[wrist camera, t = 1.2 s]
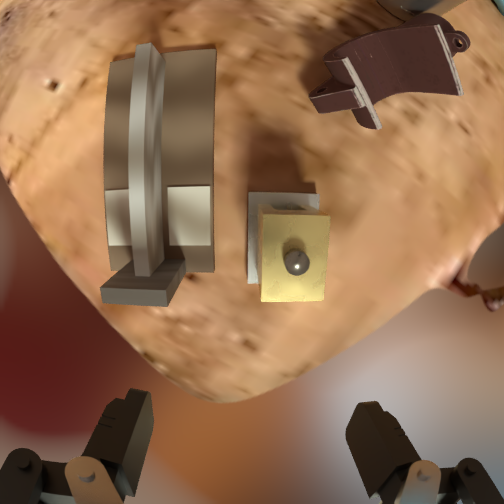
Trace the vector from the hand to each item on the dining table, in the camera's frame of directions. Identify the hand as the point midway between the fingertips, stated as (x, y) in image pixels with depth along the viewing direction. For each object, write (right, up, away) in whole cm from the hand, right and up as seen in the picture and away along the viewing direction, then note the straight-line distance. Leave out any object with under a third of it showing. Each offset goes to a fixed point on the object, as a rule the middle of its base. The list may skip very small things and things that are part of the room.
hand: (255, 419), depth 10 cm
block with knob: (+3, +7, +15) cm, 17 cm away
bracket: (+12, +23, +13) cm, 29 cm away
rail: (-8, +14, +14) cm, 22 cm away
